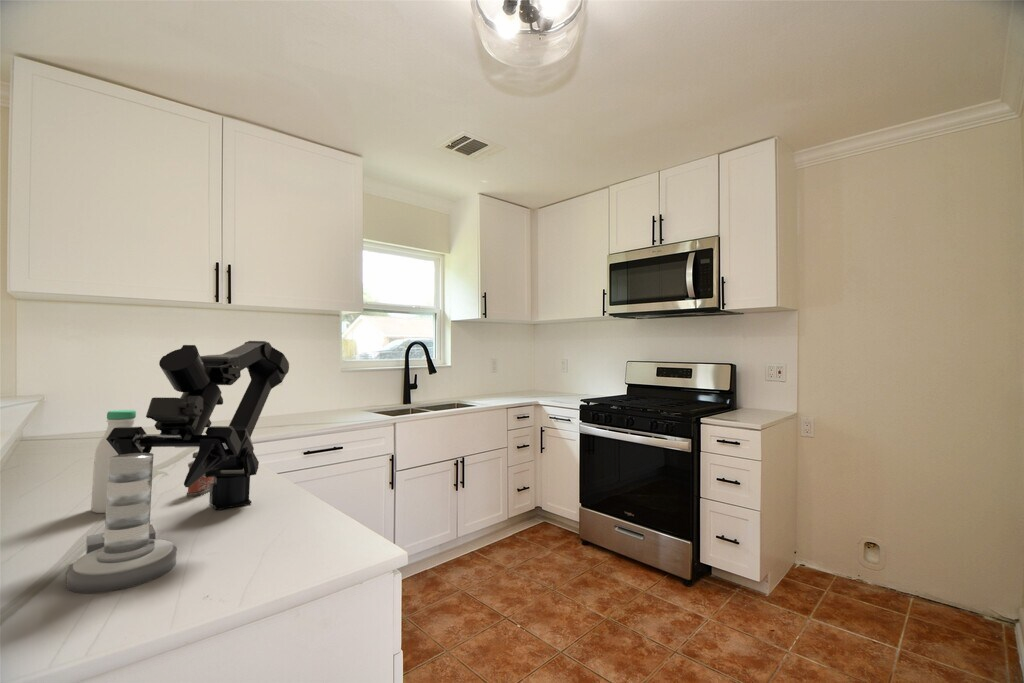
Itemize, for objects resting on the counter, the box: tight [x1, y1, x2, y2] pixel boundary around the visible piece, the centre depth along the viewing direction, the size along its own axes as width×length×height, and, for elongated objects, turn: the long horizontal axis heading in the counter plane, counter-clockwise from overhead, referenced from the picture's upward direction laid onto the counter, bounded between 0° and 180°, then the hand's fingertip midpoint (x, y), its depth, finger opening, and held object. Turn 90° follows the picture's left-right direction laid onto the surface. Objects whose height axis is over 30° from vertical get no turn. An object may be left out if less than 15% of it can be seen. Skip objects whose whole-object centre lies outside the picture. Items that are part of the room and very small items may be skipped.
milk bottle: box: [90, 409, 137, 514], centre depth 95 cm, size 8×8×20 cm
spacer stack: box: [97, 452, 155, 563], centre depth 67 cm, size 6×6×14 cm
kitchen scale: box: [66, 523, 178, 594], centre depth 68 cm, size 12×16×4 cm
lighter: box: [186, 450, 214, 499], centre depth 106 cm, size 8×3×10 cm, turn 5°
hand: (154, 486), depth 72 cm, fingers open, 9 cm apart
